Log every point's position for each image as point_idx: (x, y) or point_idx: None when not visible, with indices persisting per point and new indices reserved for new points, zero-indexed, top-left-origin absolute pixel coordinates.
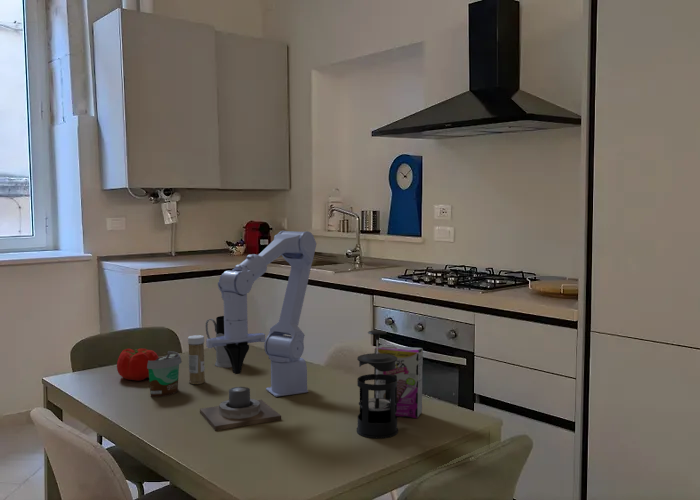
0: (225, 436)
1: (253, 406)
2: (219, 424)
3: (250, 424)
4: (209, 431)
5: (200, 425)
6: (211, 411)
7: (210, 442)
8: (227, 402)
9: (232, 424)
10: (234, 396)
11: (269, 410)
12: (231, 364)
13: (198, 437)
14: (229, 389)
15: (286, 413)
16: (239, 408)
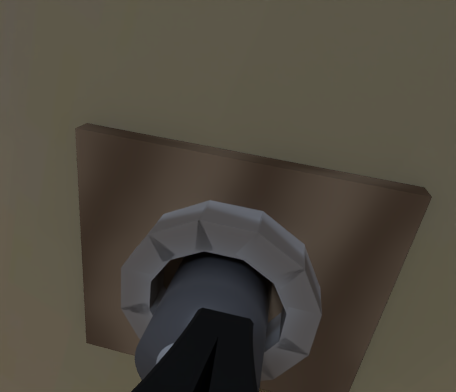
0: (110, 381)
1: None
2: (103, 340)
3: None
4: (77, 324)
5: (60, 262)
6: (116, 200)
7: (61, 386)
8: (172, 257)
9: None
10: None
11: (343, 346)
12: (158, 366)
13: (37, 341)
14: (147, 333)
15: (409, 362)
16: None
